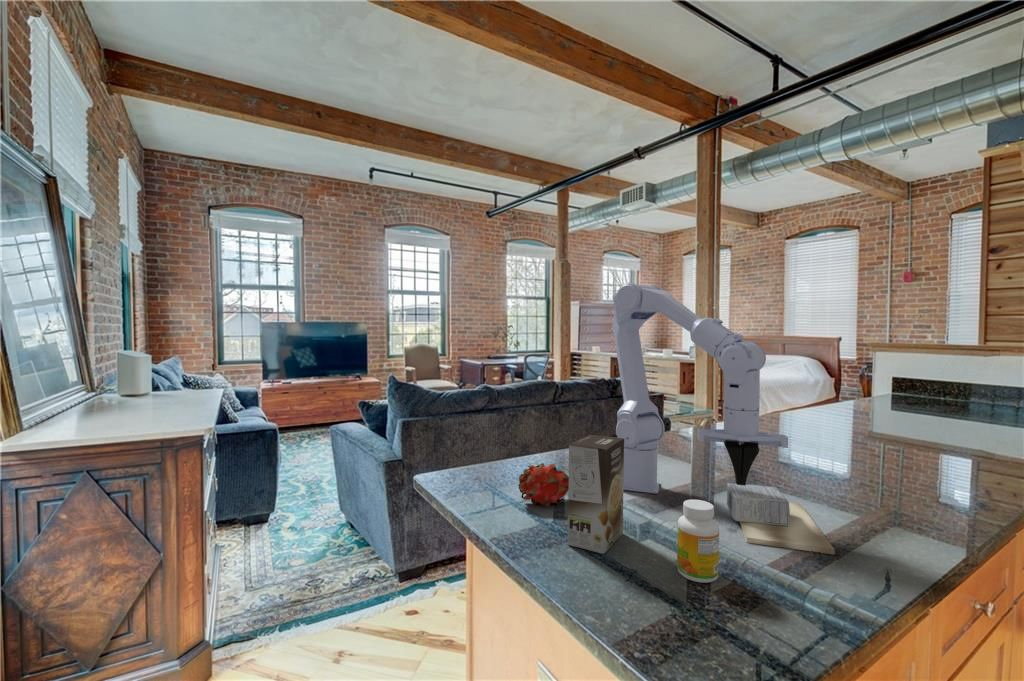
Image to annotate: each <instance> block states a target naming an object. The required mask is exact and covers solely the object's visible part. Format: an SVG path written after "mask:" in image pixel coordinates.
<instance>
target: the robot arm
mask: <svg viewBox="0 0 1024 681" xmlns="http://www.w3.org/2000/svg"><path fill="white" fill-rule="evenodd" d="M612 300H613V301H612V302H613V306H614V314H613V320H612V330H613V338H614V344H615V351H616V358H617V365H618V372H619V378H620V385H621V390H622V398H623V399H622V400H623V404H622V405H621V406H620V408H619V409H618V410H617V413H616V417H617V423H616V428H615V434H616V437H617V438H623V439H624V487H623V491H631V492H639V493H646V494H657V495H658V494H659V493H660V492H659V491H660V480H658V446H659V445H660V444H659V443H660V442H659V441H660V440H661V439H662V438H663V437H664V435H665V431H666V429H665V423H664V422H663V420H662V418H661V416H660V413H659V409H658V408H659V407H658V406H656V405H655V404H654V403H653V401H651V399H650V394H649V387H648V382H647V381H648V380H647V374H646V369H645V362H644V361H645V360H644V356H643V349H642V343H641V342H642V341H641V336H640V329H641V327H642V326H644V324H645V323H646V322H647V321H648V320H650V319H651V318H653V317H654V316H655V315H656V314H658V313H660V314H661V315H663V316H664V317H666V318H668V319H669V320H671V321H672V322H674V323H675V324H677V325H678V326H680V327H681V328H683V329H685V330H686V331H688V332H689V334H690V340H691V341H692V343H693V344H695V345H697V347H700V348H701V350H703V351H704V352H705V353H707V354H709V356H711V357H713V359H715V360H716V361H717V363H718V366H719V368H720V369H721V371H722V372H723V380H724V382H723V383H724V388H723V429H720V428H719V429H715V428H714V429H712V428H711V429H709V428H707V429H705V428H704V429H703V428H698V429H697V437H696V438H697V441H698V442H702V443H703V442H713V443H714V442H715V443H723V444H724V446H725V449H726V452H727V453H728V456H729V458H730V461H731V465H732V468H733V471H734V478H735V483H736V484H737V485H744V486H746V485H747V484H746V483H747V480H748V476H749V472H750V469H751V467H752V466H753V463H754V462H755V461H756V459H757V457H758V456H759V453H760V447H759V446H766V447H767V446H769V447H780V448H782V449H784V448H785V449H788V448H789V436H787V435H786V434H779V433H771V432H761V431H760V402H761V400H760V397H761V396H760V394H761V386H760V384H761V383H760V382H761V381H760V380H761V378H760V375H761V373H760V372H761V371H760V370H762V369H763V367H764V366H765V364H766V361H767V355H766V352H765V350H764V348H763V347H762V346H760V345H759V344H758V342H757V341H753V340H745V339H744V335H742V334H741V333H735V332H734V331H732V330H730V329H729V328H727V327H726V326H725V325H723V322H724V321H723V320H722V319H721V318H718V317H717V318H716V317H714V318H712V317H710V316H709V317H705V318H701V317H700V316H699V315H698V314H696V313H694V312H693V310H691V309H689V308H688V307H687V306H686V305H684V304H683V303H681V301H679V300H677V299H676V298H675V297H673V296H672V294H670V293H669V292H668V291H666V290H664V289H662V288H661V287H659V286H657V285H646V284H637V283H632V282H626V283H624V284H622V285H621V286H619V288H618V290H617V291H616V292H615V294H614V295H613V297H612Z"/></svg>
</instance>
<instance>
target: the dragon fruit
mask: <svg viewBox="0 0 1024 681" xmlns="http://www.w3.org/2000/svg"><path fill="white" fill-rule="evenodd" d="M527 467H529V468H526V469H524V470H523V473H521V474H520V475H519V477H518V478H519V480H518V482H519V484H517V486H518V490H519V492H520V493H521V498H522V499H523V500H524V501H527V500H528V501H531V504H532V505H537V504H538V503H540V504H541V505H542V506H545V507H549V506H550V504H557V505H559V504H561V503H562V502H563V501H565V499H564V498H563V497H564V496H566V495H567V494H568V485H569V474H567V473H565V471H564V470H562V469H561V470H559V469H557V467H556V465H555V464H554V463H551V464H549V465H548V466H546V465H545V463H543V462H542V463H540V464H538V465H536V466H535V465H532V464H528V466H527ZM524 495H525V496H524Z"/></svg>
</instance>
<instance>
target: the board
mask: <svg viewBox="0 0 1024 681" xmlns="http://www.w3.org/2000/svg"><path fill="white" fill-rule="evenodd" d="M788 502H789V501H788ZM789 508H790V520H789V526H781V525H771V524H761V523H751V522H741V521H738V523H739V524H740V527H741V530H742V532H743V536H744V539H745V541H746V543H750V544H755V545H756V544H757V545H764V546H770V547H776V548H785V549H791V550H799V551H806V552H807V551H808V552H812V551H813V552H814V553H819V552H820V554H828V555H835V552H836V550H835V548H834V546H833V545H832V544H831V542H830V541H829V540H828V538H826V536H825V535H824V533H823V532H822V530H821V529H820V528H819V526H817V524H816V522H815V521H814V520H813V519H812V517H811V516H810V515H809V513H808V512H807V511H806V509H805V508H804V506H802V504H801V503H797V502H789Z"/></svg>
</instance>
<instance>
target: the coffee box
mask: <svg viewBox="0 0 1024 681" xmlns="http://www.w3.org/2000/svg"><path fill="white" fill-rule="evenodd" d="M568 477H569V485H568V492H567V494H568V495H567V498H568V499H567V501H568V502H567V504H568V505H567V506H568V507H567V545H568V546H569V547H570V546H571V547H575V548H578V549H583V550H587V551H590V552H594V553H599V554H602V555H603V554H606V552H607V551H608V550H610V548H611V547H612V546H613V545H614V544H615V543H616V541H617V540H618V539H619V538H620V537H621V536H622V535H623V532H624V531H623V530H624V490H623V487H624V439H623V438H618V437H617V436H609V435H608V436H607V435H597V434H588V435H586V436H584V437H582V438H580V439H577V440H575V441H572V442H570V443H569V444H568Z"/></svg>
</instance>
